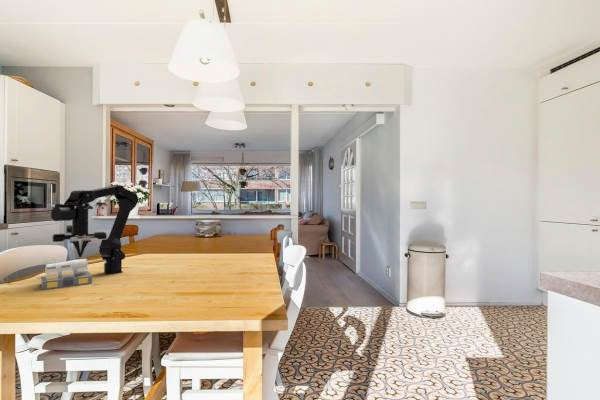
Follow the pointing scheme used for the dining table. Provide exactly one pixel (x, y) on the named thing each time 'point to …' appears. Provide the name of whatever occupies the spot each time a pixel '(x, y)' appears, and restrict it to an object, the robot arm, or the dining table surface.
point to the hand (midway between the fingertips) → (80, 256)
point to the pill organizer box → (66, 280)
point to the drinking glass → (74, 264)
